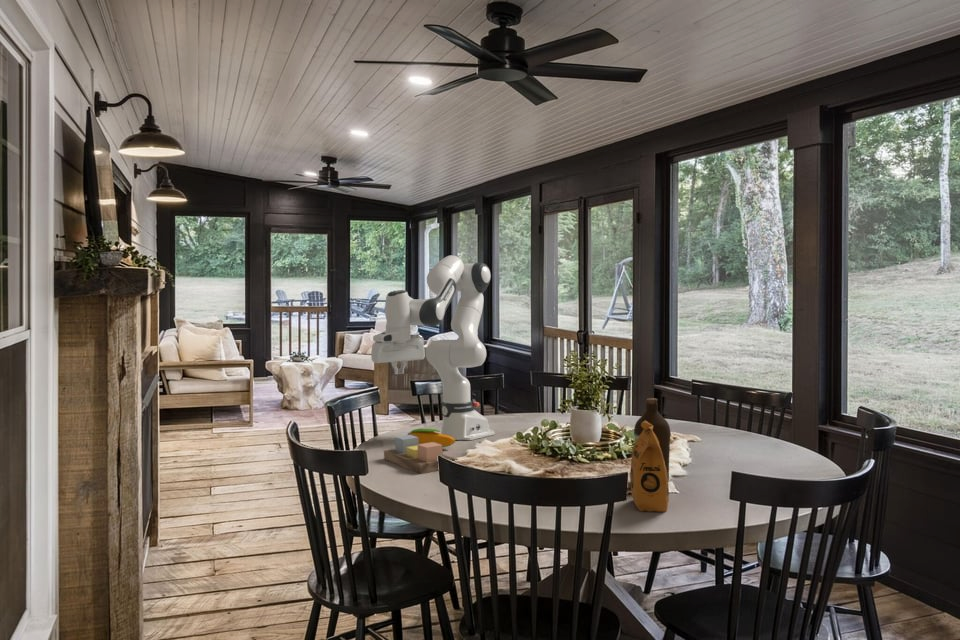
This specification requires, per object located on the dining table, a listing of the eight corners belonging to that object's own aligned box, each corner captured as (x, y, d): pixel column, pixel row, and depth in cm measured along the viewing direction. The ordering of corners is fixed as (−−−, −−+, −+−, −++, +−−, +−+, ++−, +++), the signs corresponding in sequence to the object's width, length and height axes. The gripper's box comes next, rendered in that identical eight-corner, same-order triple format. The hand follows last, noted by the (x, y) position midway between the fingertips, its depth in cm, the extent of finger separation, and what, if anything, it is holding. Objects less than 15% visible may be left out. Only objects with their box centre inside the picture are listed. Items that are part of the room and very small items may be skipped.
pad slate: (410, 448, 254) (410, 434, 254) (418, 451, 249) (418, 437, 249) (395, 451, 251) (395, 436, 251) (403, 454, 246) (403, 439, 246)
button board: (416, 453, 258) (416, 445, 258) (455, 467, 237) (454, 458, 236) (384, 459, 251) (383, 450, 250) (421, 473, 229) (420, 464, 229)
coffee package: (631, 512, 186) (630, 428, 185) (630, 498, 198) (629, 419, 197) (670, 513, 184) (669, 429, 183) (667, 499, 196) (666, 420, 195)
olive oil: (664, 475, 221) (663, 395, 219) (675, 485, 210) (675, 400, 209) (630, 477, 220) (629, 396, 219) (640, 486, 209) (639, 402, 208)
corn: (410, 424, 273) (459, 427, 266) (412, 444, 274) (460, 447, 267) (402, 430, 266) (451, 432, 259) (403, 449, 267) (452, 453, 260)
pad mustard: (421, 458, 248) (421, 444, 248) (430, 462, 243) (430, 447, 243) (406, 461, 244) (406, 447, 244) (415, 464, 239) (414, 450, 239)
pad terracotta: (433, 456, 241) (433, 442, 241) (442, 459, 236) (442, 445, 236) (417, 459, 238) (417, 444, 237) (427, 462, 233) (426, 447, 233)
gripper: (419, 333, 264) (420, 370, 265) (368, 336, 253) (370, 375, 253) (427, 334, 259) (428, 372, 260) (376, 337, 248) (377, 377, 248)
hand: (399, 373), depth 257 cm, fingers closed
